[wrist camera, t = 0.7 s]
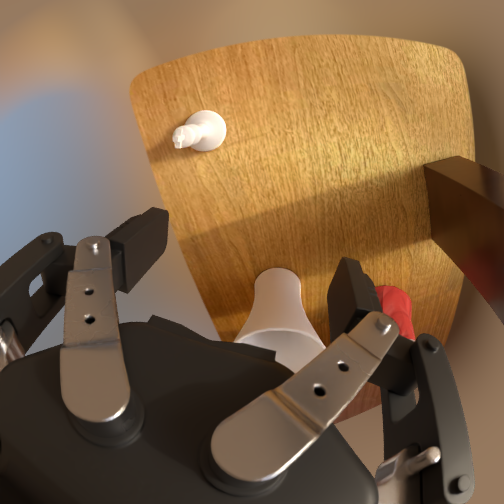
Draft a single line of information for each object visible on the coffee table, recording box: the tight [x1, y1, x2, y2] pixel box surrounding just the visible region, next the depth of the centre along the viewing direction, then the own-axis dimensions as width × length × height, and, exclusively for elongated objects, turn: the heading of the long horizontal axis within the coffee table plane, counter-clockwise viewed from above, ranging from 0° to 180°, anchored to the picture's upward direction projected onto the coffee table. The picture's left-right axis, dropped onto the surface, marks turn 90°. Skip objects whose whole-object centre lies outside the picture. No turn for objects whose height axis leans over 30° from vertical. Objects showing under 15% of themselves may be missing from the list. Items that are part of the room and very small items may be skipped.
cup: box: [234, 268, 326, 374], centre depth 32 cm, size 10×10×14 cm
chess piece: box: [173, 110, 226, 151], centre depth 24 cm, size 5×5×10 cm
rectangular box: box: [423, 156, 504, 324], centre depth 21 cm, size 11×6×20 cm, turn 22°
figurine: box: [375, 286, 415, 341], centre depth 33 cm, size 13×12×15 cm
